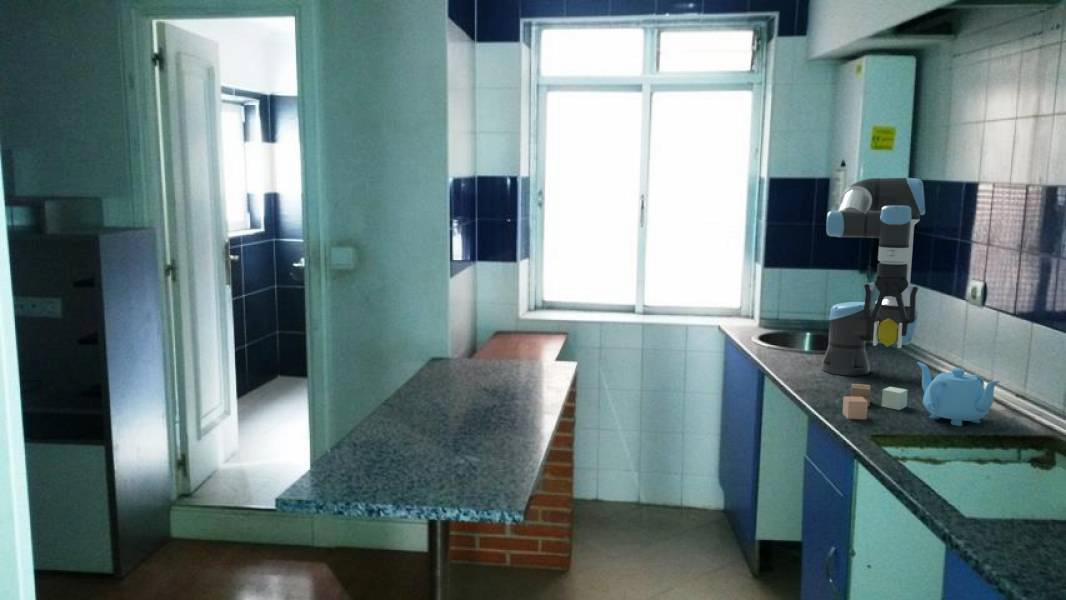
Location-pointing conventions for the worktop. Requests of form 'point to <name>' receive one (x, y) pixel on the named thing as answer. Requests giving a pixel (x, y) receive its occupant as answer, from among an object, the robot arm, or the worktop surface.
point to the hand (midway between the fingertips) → (887, 345)
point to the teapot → (956, 395)
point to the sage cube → (894, 398)
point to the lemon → (888, 332)
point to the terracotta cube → (854, 407)
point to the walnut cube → (861, 391)
